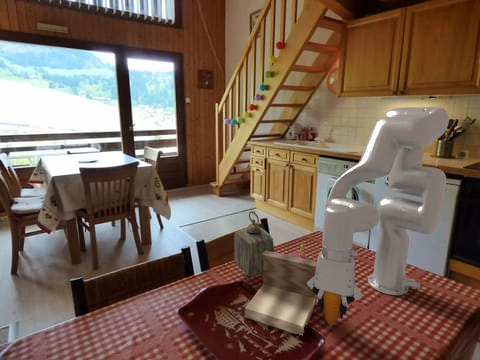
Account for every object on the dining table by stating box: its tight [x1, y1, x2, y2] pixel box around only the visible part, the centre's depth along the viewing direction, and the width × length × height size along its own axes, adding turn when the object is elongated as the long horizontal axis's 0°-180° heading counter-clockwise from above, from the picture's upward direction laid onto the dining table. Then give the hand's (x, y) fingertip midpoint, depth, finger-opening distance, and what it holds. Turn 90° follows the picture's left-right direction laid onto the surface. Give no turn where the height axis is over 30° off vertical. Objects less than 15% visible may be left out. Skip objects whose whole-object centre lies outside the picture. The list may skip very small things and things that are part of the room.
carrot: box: [323, 291, 342, 327], centre depth 82 cm, size 5×5×15 cm
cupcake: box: [287, 243, 309, 260], centre depth 112 cm, size 9×8×12 cm
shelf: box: [244, 250, 317, 337], centre depth 89 cm, size 17×16×15 cm
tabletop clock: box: [233, 210, 275, 281], centre depth 105 cm, size 14×9×25 cm, turn 25°
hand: (331, 312), depth 83 cm, fingers closed on carrot, 4 cm apart
